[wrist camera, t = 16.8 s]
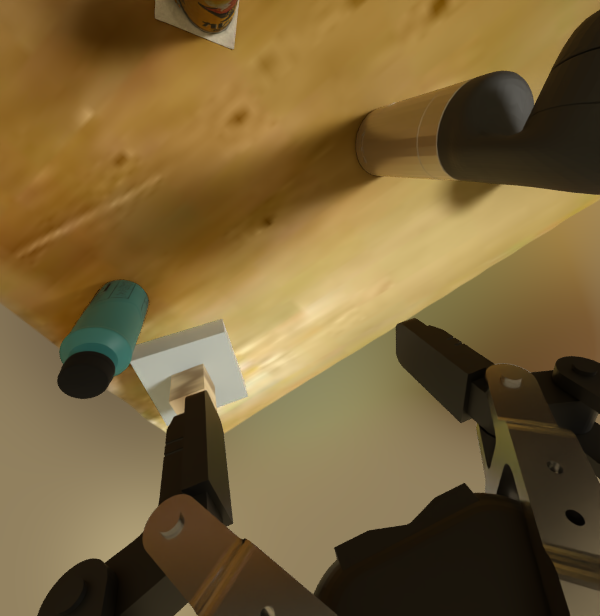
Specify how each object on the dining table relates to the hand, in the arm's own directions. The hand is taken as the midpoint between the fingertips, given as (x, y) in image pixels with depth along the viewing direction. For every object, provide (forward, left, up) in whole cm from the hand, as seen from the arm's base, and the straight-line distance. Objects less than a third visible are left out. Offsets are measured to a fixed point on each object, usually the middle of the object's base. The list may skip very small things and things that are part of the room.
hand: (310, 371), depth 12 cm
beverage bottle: (+17, +7, -36) cm, 41 cm away
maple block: (+12, +22, -32) cm, 40 cm away
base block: (+12, +22, -37) cm, 44 cm away
